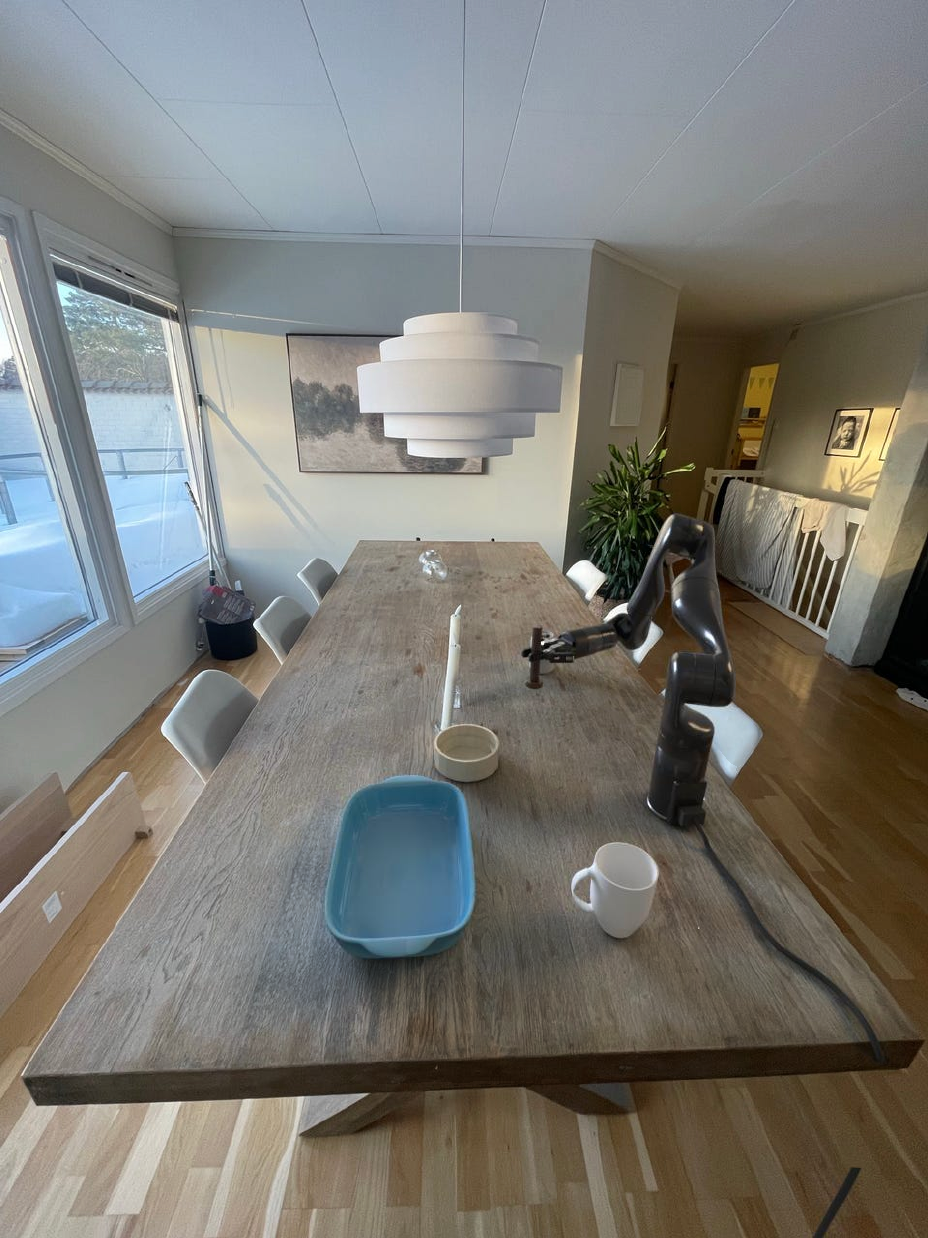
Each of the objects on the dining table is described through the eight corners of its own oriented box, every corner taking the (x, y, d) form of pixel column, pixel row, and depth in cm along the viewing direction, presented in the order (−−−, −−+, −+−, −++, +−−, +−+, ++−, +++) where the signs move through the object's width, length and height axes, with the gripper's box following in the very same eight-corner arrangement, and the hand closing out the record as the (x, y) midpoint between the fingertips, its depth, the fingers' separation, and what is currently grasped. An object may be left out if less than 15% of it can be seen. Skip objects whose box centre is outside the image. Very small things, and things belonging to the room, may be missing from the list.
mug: (638, 900, 82) (648, 841, 78) (655, 953, 74) (667, 891, 69) (564, 897, 82) (570, 839, 78) (573, 950, 74) (580, 888, 70)
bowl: (504, 780, 109) (505, 758, 107) (438, 786, 107) (437, 764, 105) (491, 741, 122) (491, 721, 120) (431, 746, 120) (431, 726, 118)
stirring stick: (544, 688, 128) (549, 629, 122) (527, 689, 127) (531, 630, 122) (539, 680, 132) (543, 622, 126) (523, 681, 131) (526, 623, 126)
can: (553, 676, 154) (555, 639, 149) (527, 674, 155) (530, 637, 151) (554, 665, 160) (556, 630, 156) (529, 663, 162) (532, 628, 157)
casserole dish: (351, 804, 102) (349, 774, 99) (463, 799, 104) (464, 769, 101) (315, 998, 68) (309, 960, 65) (483, 986, 69) (484, 949, 67)
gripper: (564, 620, 137) (510, 632, 129) (601, 638, 126) (544, 652, 118) (562, 646, 140) (509, 659, 132) (598, 666, 129) (542, 681, 121)
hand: (526, 655), depth 125 cm, fingers closed on stirring stick, 2 cm apart
